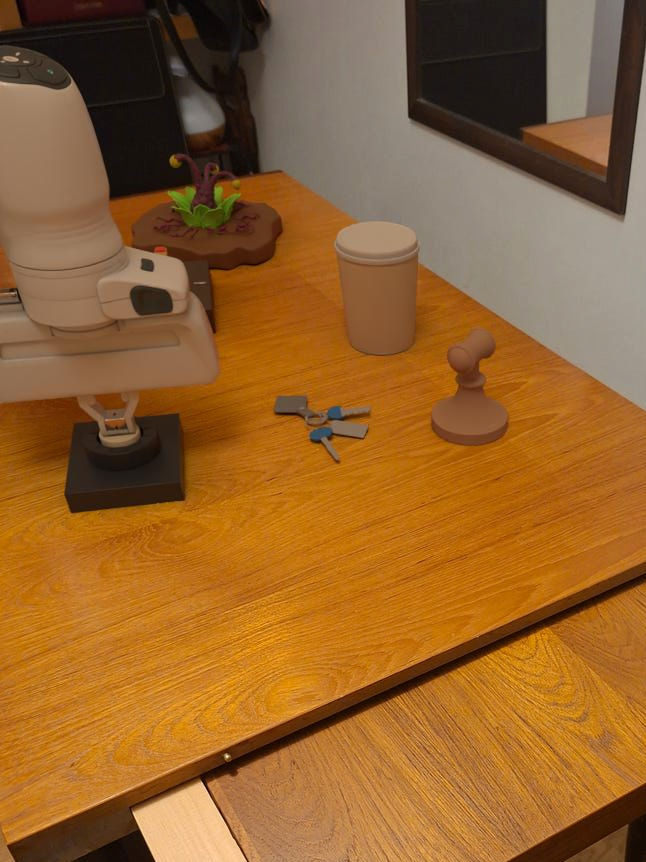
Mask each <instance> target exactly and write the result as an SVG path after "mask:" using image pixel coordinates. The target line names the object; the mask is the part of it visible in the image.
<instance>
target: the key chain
mask: <svg viewBox="0 0 646 862" xmlns="http://www.w3.org/2000/svg"><path fill="white" fill-rule="evenodd" d="M307 403H308V396H307V395H277V396H276V398H275V403H274V407H273V412H274V413H277V414H279V413H284V414H285V413H290V414H291V413H294V414H295V413H296V414H297V415H300V416H301V417H303V418H304V421H305V423H304V424H305V425H306V427H308V428H309V429H311V430H312V431H311V432H310V433H309V434H308V437H309V439H310V440H311V441H315V442H317V441H321V442H322V444H323V445H324V446H325V448H326V450H327V451H328V452H329V453H330V455H331V456H332V457H333V459H335V461H340V460H341V458H340V456H339V454H338V452H337V450H336V449H335V447H334V446H333V444H332V443H331V441H329V439H328V438H329V437H331V436H332V435H333V434H336V435H340V436H341V435H342V436H348V437H354V438H359V439H364V438H365V436H366V433H367V431H368V429H369V424H363V423H357V422H351V421H346V420H345V421H344V420H341V419H344V417H346V416H348V417H349V416H351V415H356V416H357V415H358V414H362V413H366V414H368V413H369V412H371V410H372V408H371V406H370V405H367V406H359V407H351V408H345V407H342V405H335V406H331V407H330V408H328V409H327V411H326V412H325V411H317V410H316V411H313V410H312V409H309V408H308V407H307ZM314 416H319V417H314ZM329 419H331V420H332V421H329ZM312 420H317V421H312ZM325 422H327V424H328V423H329V426H320V427H317V428H315V427H311V426H310V425H314V426H317V425H322V424H324V423H325Z"/></svg>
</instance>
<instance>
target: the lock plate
mask: <svg viewBox="0 0 646 862" xmlns="http://www.w3.org/2000/svg"><path fill="white" fill-rule="evenodd" d="M183 264H184V266H185V268H186V271H187V274H188V279H189V286H190V292H192V293H193V294H194V295H195V296H196V297H197V298H198V299H199V300H200V302H201V303H202V305H203V307H204V309H205V312H206V314H207V317H208V319H209V322H210V325H211V328H212V331H213V334H216V333H217V330H216V329H217V328H216V317H215V315H216V314H215V303H214V292H213V291H214V290H213V281H212V275H211V271H210V269H209V264H208V260H202V261H187V262H183Z"/></svg>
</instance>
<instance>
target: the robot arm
mask: <svg viewBox="0 0 646 862" xmlns="http://www.w3.org/2000/svg"><path fill="white" fill-rule="evenodd" d="M97 137H98V136H97V134H96V131H95V128H94V125H93V122H92V118H91V116H90V113H89V111H88V108H87V106H86V102H85V101H84V98H83V96H82V94H81V92H80V89H79V88H78V85H77V84H76V82H75V81H74V79H73V77H72V76H71V74H70V73H69V72H68V71H67V69H66V68H64V66H63V65H62V64H61V63H59V62H58V61H55V60H53V59H52V58H51V57H50V56H48V55H46V54H43V53H41V52H38V51H36V50H32V49H28V48H24V47H19V46H13V45H6V44H2V45H0V245H1V247H2V248H3V249H2V250H3V251H4V253H5V256H6V259H7V263H8V265H9V268H10V271H11V273H12V275H13V276H12V277H13V279H14V282H15V285H16V287H6V288H5V287H4V288H0V404H1V405H2V404H11V403H22V402H31V401H32V402H33V401H42V400H44V401H45V400H55V399H65V398H76V400H77V403H78V407H79V408H81V410H83V411H84V412H85V413H86V414H87V415H88V416H89V417H91V419H93V421H98V424H99V428H100V431H101V434H102V436H108V435H117V434H127V433H135V432H136V424H135V419H134V416H135V415H134V413H135V411H136V409H137V406H138V404H139V401H140V392H141V391H153V390H164V389H165V390H166V389H175V388H185V387H187V388H188V387H198V386H208V385H213V384H215V382H217V380H218V378H219V376H220V375H221V359H220V355H219V350H218V346H217V342H216V339H215V335H214V334H215V333H213V331H212V328H211V325H210V322H209V319H208V317H207V314H206V312H205V309H204V307H203V305H202V303H201V302H200V300H199V299H198V298H197V297H196V296H195V295H194V294H193V293H192V292H190V286H189V279H188V274H187V271H186V268H185V266H184V264H183V262H182V261H180V260H179V259H176V258H173V257H169V256H164V255H160V254H155V253H151V252H147V251H143V250H139V249H135V248H132V246H127V245H125V242H124V239H123V236H122V233H121V230H120V229H119V228H118V225H117V224H116V222H115V220H114V217H113V215H112V211H111V206H110V191H111V190H110V182H109V178H108V173H107V170H106V166H105V163H104V157H103V154H102V150H101V148H100V144H99V141H98V138H97ZM109 394H120V398H121V401H122V402H124V403H125V404H124V407H123V408H115V409H106V408H105V407H104V406H103V405H102V404H101V403H100V402H99V401H98V400H97V399H96V398H97V396H98V395H109Z"/></svg>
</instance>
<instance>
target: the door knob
mask: <svg viewBox="0 0 646 862" xmlns="http://www.w3.org/2000/svg"><path fill="white" fill-rule="evenodd" d="M496 348H497V343H496V339H495V337H494V335H493V334H492V333H491V331H489V330H488V329H487V328H485V327H480V326H478V327H473V328H472V329H471V330H470V331H469V332H468V334H467V337H466V338H465V339H464V340H463V341H461V342H453V344H451V345H450V346H449V347H448V349H447V352H446V359H447V363H448V365H449V366H450V368H451V369H452V370H453V372H455V373H457V374H456V375H455V377H454V379H455V380H454V381H455V382H456V384H457V390H456V392H455V393H454V395H450V396H448V397H445V398H443V399H441V400H439V401H438V402H436V403H435V405H434V406H433V407H432V409H431V415H430V416H431V417H430V421H431V424H430V425H431V428H432V430H433V432H434V433H435V435H437V436H438V437H439V438H441V439H443V440H444V441H446V442H449V443H452V444H456V445H462V446H480V445H485V444H486V445H487V444H490V443H492V442H495V441H497V440H499V439H501V438H502V437H503V436H504V435H505V434H506V432H507V430H508V424H509V412H508V410H507V408H506V407H505V405H503V404H502V403H501V402H500V401H498V400H496V399H494V398H492V397H489V396H487V395H486V393H485V390H484V385H485V384H486V383H487V376H486V375H485V374H484V373H483V372H481V371H480V362H481V361H482V360H485V359H489V358H491V357H492V356H493V355H494V354H495V351H496Z"/></svg>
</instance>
